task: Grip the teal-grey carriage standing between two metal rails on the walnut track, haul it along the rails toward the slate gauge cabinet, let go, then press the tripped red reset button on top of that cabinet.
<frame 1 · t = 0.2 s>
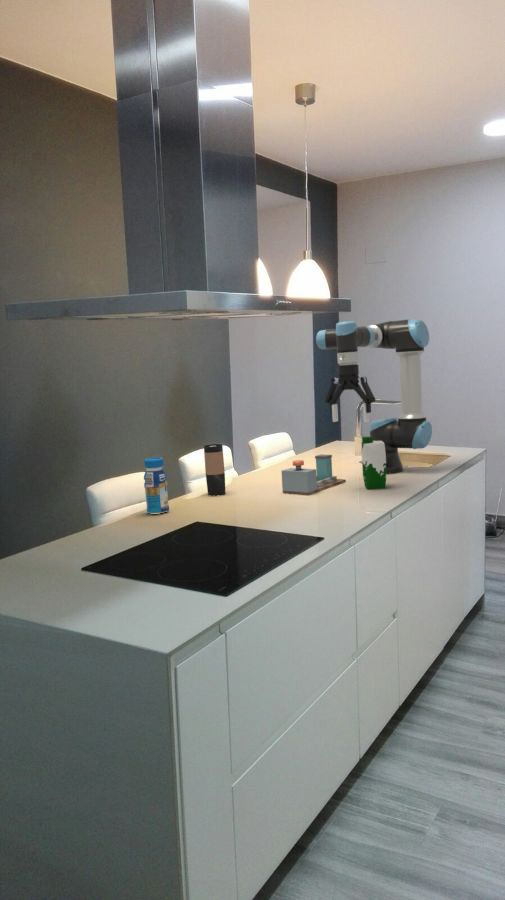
hand: (350, 421, 267), 28 cm above the counter, fingers open, 13 cm apart
rail track: (315, 487, 291), on the counter
milk carton: (375, 487, 282), on the counter
carriage: (324, 468, 296), point 7 cm above the counter, slide at 0.0 cm
travel mug: (216, 494, 291), on the counter
reset button: (298, 465, 281), point 11 cm above the counter, slide at 0.0 cm
gauge cabinet: (300, 492, 282), resting on rail track
beverage bottle: (158, 513, 264), on the counter
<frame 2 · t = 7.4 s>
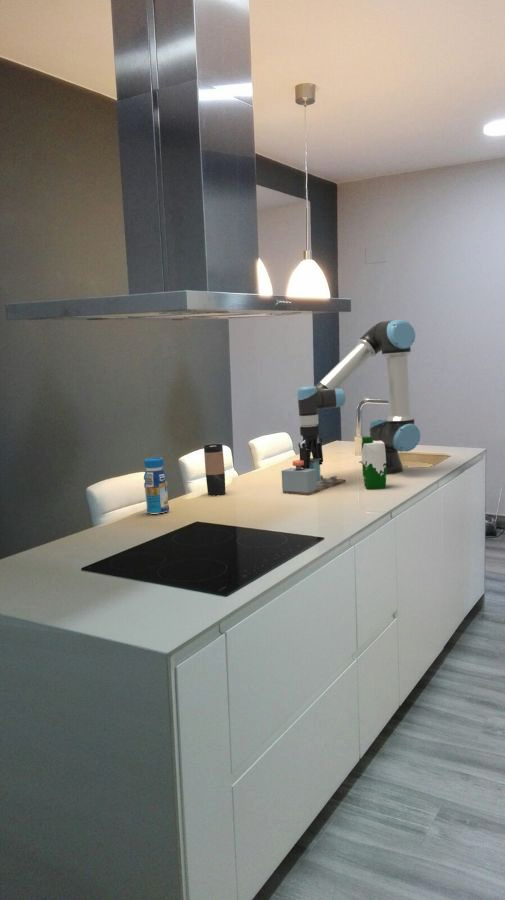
hand: (313, 482, 289), 2 cm above the counter, fingers open, 6 cm apart
carriage: (311, 472, 288), point 7 cm above the counter, slide at 9.5 cm
everything else where it was.
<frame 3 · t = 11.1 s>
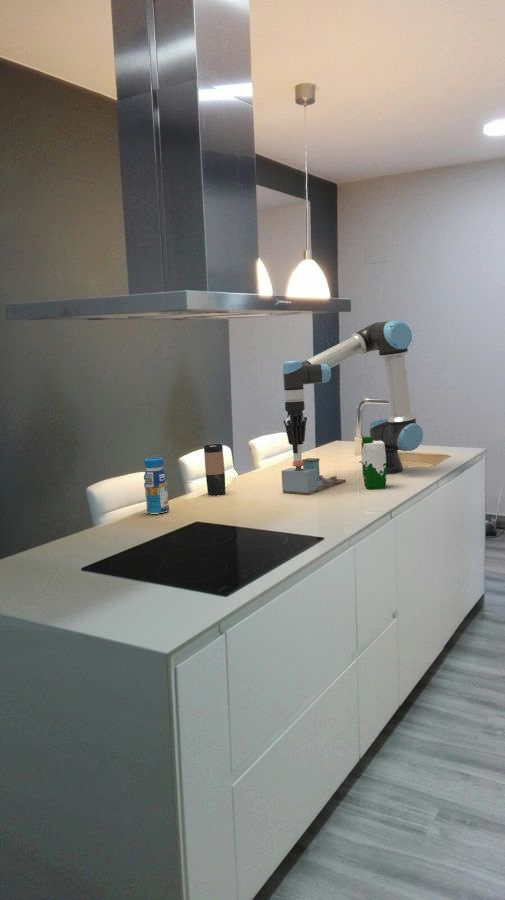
hand: (297, 461, 281), 13 cm above the counter, fingers closed
reset button: (298, 466, 281), point 10 cm above the counter, slide at 0.2 cm, touching gripper
everything else where it was.
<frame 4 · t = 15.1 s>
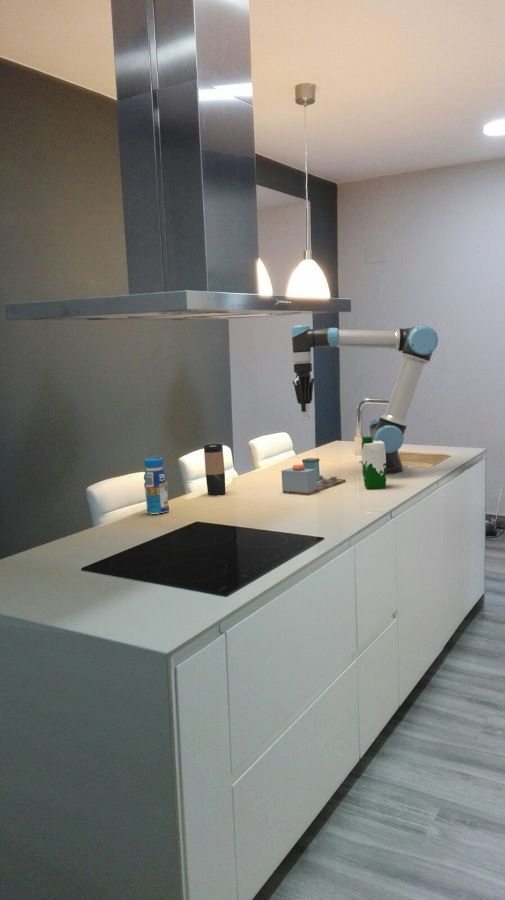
hand: (305, 419, 302), 26 cm above the counter, fingers closed
reset button: (298, 470, 281), point 9 cm above the counter, slide at 1.8 cm
everything else where it was.
at the end: carriage slide at 9.4 cm; reset button slide at 1.8 cm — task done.
